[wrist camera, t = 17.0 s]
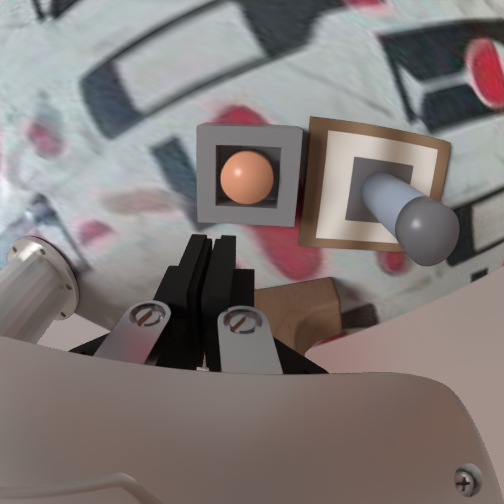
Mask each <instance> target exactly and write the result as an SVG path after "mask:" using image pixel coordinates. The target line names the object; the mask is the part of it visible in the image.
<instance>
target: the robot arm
mask: <svg viewBox="0 0 504 504" xmlns="http://www.w3.org/2000/svg"><path fill="white" fill-rule="evenodd" d="M6 261H7V264H6V265H5V266H4V267H3V268H0V504H504V500H503V497H502V494H501V490H500V487H499V483H498V480H497V477H496V474H495V471H494V468H493V465H492V462H491V459H490V457H489V454H488V452H487V449H486V447H485V444H484V442H483V440H482V438H481V436H480V433H479V431H478V429H477V427H476V425H475V423H474V421H473V419H472V417H471V416H470V414H469V412H468V411H467V409H466V407H465V406H464V404H463V403H462V402H461V400H460V399H459V397H458V396H457V395H456V394H455V393H454V392H453V391H452V390H451V389H450V388H449V387H447V386H446V385H444V384H442V383H440V382H438V381H435V380H432V379H429V378H425V377H421V376H416V375H411V374H401V373H391V372H389V373H386V372H368V373H339V374H338V373H334V374H333V373H332V374H330V373H328V372H327V371H326V370H325V369H323V368H321V367H320V366H318V365H316V364H315V363H313V362H312V361H310V360H309V359H307V358H306V357H304V356H302V355H301V354H299V353H298V352H296V351H295V350H293V349H292V348H290V347H288V346H287V345H285V344H284V343H282V342H281V341H279V340H278V339H276V338H275V337H273V336H272V333H271V330H270V326H269V323H268V319H267V317H266V316H265V314H264V313H263V312H261V311H260V310H258V309H256V308H254V269H235V266H236V236H228V235H222V236H221V239H216V240H215V244H214V248H213V251H212V239H208V238H207V235H200V234H192V236H191V238H190V240H189V242H188V245H187V247H186V249H185V252H184V254H183V256H182V258H181V261H180V263H179V266H169V267H168V269H167V271H166V273H165V275H164V277H163V279H162V281H161V284H160V286H159V288H158V290H157V292H156V294H155V297H154V299H153V300H147V301H141V302H138V303H136V304H134V305H132V306H131V307H130V308H129V309H127V311H126V312H125V313H124V315H123V316H122V317H121V318H120V320H119V321H118V322H117V324H116V325H115V326H114V328H113V329H112V331H111V332H110V333H108V334H106V335H103V336H101V337H99V338H96V339H94V340H92V341H89V342H87V343H85V344H82V345H80V346H78V347H76V348H73V349H71V350H69V351H63V350H58V349H54V348H50V347H46V346H41V345H37V343H38V341H39V340H40V338H41V337H42V335H43V334H44V333H45V331H46V330H47V328H48V327H49V326H50V324H51V323H52V321H53V320H64V319H67V318H69V317H70V316H71V315H72V314H73V313H74V311H75V310H76V308H77V306H78V302H79V289H78V285H77V282H76V279H75V277H74V274H73V272H72V270H71V269H70V267H69V265H68V264H67V262H66V261H65V260H64V258H63V257H62V256H61V255H60V254H59V253H58V251H57V250H55V249H54V248H53V247H52V246H51V245H49V244H48V243H46V242H45V241H43V240H41V239H38V238H36V237H31V236H27V237H22V238H19V239H18V240H17V241H15V242H14V243H13V244H12V245H11V246H10V248H9V250H8V253H7V258H6ZM204 354H205V358H206V367H208V368H209V371H198V370H196V369H197V367H202V365H203V360H204Z"/></svg>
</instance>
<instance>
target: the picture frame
mask: <svg viewBox="0 0 504 504" xmlns="http://www.w3.org/2000/svg"><path fill="white" fill-rule="evenodd" d="M450 145H451V143H450V142H447V141H444V140H440V139H436V138H432V137H428V136H424V135H420V134H415V133H411V132H406V131H401V130H397V129H392V128H386V127H381V126H375V125H370V124H364V123H357V122H351V121H344V120H336V119H328V118H320V117H311V116H310V123H309V136H308V148H307V159H306V170H305V181H304V191H303V201H302V210H301V219H300V228H299V237H298V244H299V246H306V247H324V248H341V249H358V250H375V251H391V252H405V251H404V250H403V248H402V247H401V246H400V245H399V243H398V242H397V240H396V239H395V238H394V236H393V235H392V234H391V233H390V232H389V231H388V230H387V229H386V228H385V227H384V226H383V225H382V224H381V223H380V222H379V221H378V219H377V218H376V217H375V216H374V215H373V214H372V213H371V212H370V211H369V210H368V209H367V208H366V207H365V206H364V204H363V202H362V200H361V188H362V185H363V183H364V181H365V180H366V178H367V177H368V176H370V175H371V174H373V173H375V172H380V171H383V172H388V173H390V174H392V175H393V176H395V177H397V178H399V179H400V180H402V181H404V182H405V183H407V184H409V185H411V186H412V187H414V188H415V189H417V190H419V191H420V192H422V193H424V194H425V195H427V196H429V197H432V198H434V199H436V200H437V201H439V202H440V198H441V193H442V189H443V184H444V179H445V174H446V169H447V163H448V157H449V151H450Z"/></svg>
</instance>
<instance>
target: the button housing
mask: <svg viewBox="0 0 504 504" xmlns="http://www.w3.org/2000/svg"><path fill="white" fill-rule="evenodd" d="M302 133H303V130H302V129H301V128H299V127H298V126H286V125H272V124H252V123H203V124H200V125H198V126H197V212H198V222H208V223H230V224H251V225H270V226H287V227H294V222H295V212H296V202H297V192H298V181H299V170H300V158H301V146H302ZM242 149H255V150H258V151H260V152H262V153H263V154H264V155H265V156H266V157H267V158H268V159H269V161H270V163H271V165H272V171H273V185H272V188H271V191H270V192H269V194H268V195H267V196H266V197H265V198H264V199H262V200H261V201H259V202H256V203H253V204H242V203H238V202H236V201H234V200H232V199H231V198H230V197H228V196H227V194H226V193H225V192H224V190H223V188H222V185H221V172H222V169H223V167H224V165H225V164H226V162H227V160H228V159H229V157H230V156H231V155H232V154H234V153H235V152H237V151H239V150H242Z"/></svg>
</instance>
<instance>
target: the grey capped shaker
mask: <svg viewBox="0 0 504 504" xmlns="http://www.w3.org/2000/svg"><path fill="white" fill-rule="evenodd" d="M361 200H362V202H363V204H364V206H365V207H366V208H367V209H368V210H369V211H370V212H371V213H372V214H373V215H374V216H375V217H376V218H377V219H378V221H379V222H380V223H381V224H382V225H383V226H384V227H385V228H386V229H387V230H388V231H389V232H390V233H391V234H392V235H393V236H394V238H395V239H396V240H397V242H398V243H399V245H400V246H401V247H402V248H403V250H404V251H405V252H406V253H407V254H408V255H409V256H410V258H411V259H412V260H413V261H414V262H415V263H417V264H419V265H421V266H433V265H436V264H438V263H440V262H442V261H443V260H445V259H446V258H447V257H448V256H449V255H450V254H451V252H452V251H453V249H454V248H455V246H456V244H457V241H458V238H459V231H460V230H459V221H458V218H457V216H456V214H455V213H454V212H453V211H452V210H451V209H450V208H448V207H447V206H445V205H443V204H442V203H440V202H439V201H437V200H436V199H434V198H432V197H429V196H427V195H425V194H424V193H422V192H420V191H419V190H417V189H415V188H414V187H412V186H411V185H409V184H407V183H405V182H404V181H402V180H400V179H399V178H397V177H395V176H393V175H392V174H390V173H388V172H383V171H380V172H375V173H373V174H371V175H370V176H368V177H367V178H366V180H365V181H364V183H363V185H362V188H361Z"/></svg>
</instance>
